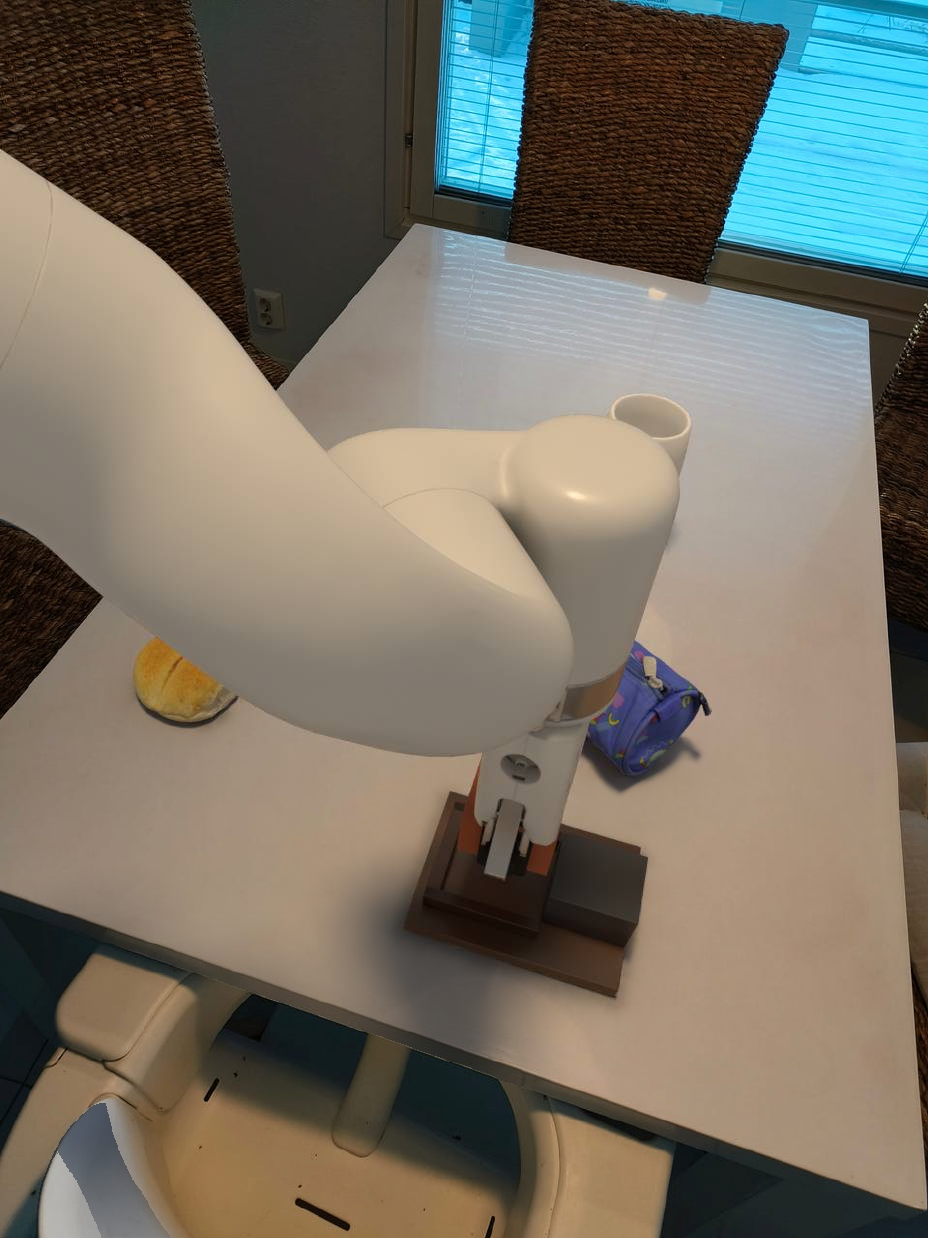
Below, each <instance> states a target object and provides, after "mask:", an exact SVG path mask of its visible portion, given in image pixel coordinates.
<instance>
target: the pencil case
mask: <svg viewBox="0 0 928 1238" xmlns="http://www.w3.org/2000/svg"><path fill="white" fill-rule="evenodd" d="M701 706H702V707H701ZM701 708H702V711H703V713H704V717H708V716H710V715H711V714H712V712H713V710H712V709H711V707H710V706H709V702H708V700H707V698H706V697H705V695H704V693H703V692H702V691H700V690H699V689H698V688H697V687H696V686H695V685H694V684H693V683H692V682H690V681H689V680H688V679H686V678H684V677H683V676H681V675H680V674H679V673H678V672H677V671H675V670H674V669H673V668H672V667H671V666H669V665H668V664H667V663H666V662H665V661H664V660H662V659H661V658H659V657H658V656H656V655H654V654H653V653H652V652H651V651H649V649H647V648H646V647H645V646H643V645H642V644H641V643H640V642H638V641H637V640H635V641H634V644H633V647H632V650H631V653H630V656H629V659H628V662H627V665H626V668H625V671H624V674H623V677H622V680H621V683H620V686H619V689H618V692H617V695H616V697H615V698H614V700H613V702H612V704H611V705H610V706H609V707H608V708H607V709H606V710H605V711H604V712H603V713H602V714H600V715H599V716H598V717H596V718H594V719H592V720H591V721H590V722H589V726H588V730H587V734H586V738H588V739H589V740H590V742H592V743H593V744H594V745H595V747H597V748H598V749H601V750H602V752H603V754H604V755H605V756H606V757H607V758H608V759H610V760H611V761H612V763H613V764H614V765H615V766H616V767H617V769H618V770H619V772H620V773H622V774H624V775H627V776H628V775H629V776H638V775H641V774H643V773H645V772H647V771H648V770H649V769H650V768H652V767H653V765H654V764H655V763H657V761H658V760H659V759H660V758H661V756H662V755H663V754H664V753H666V752H667V751H668V750H669V749H670V748H672V746H674V745H675V743H677V741H678V740H679V739H680V737H681V736H682V735H683V733H684V732H685V731H687V729H688V728H689V726H690V725H691V724H692V723H693V721H694V720H695V719H696V716H697V715H698V713H699V711H700V709H701Z"/></svg>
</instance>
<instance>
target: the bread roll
mask: <svg viewBox="0 0 928 1238" xmlns="http://www.w3.org/2000/svg"><path fill="white" fill-rule="evenodd" d="M132 672H133V673H132V681H133V687H134V690H135V693H136V695H137V697H138V698H139V700H140V702H141V704H143V705H144V707H146V708H147V709H149V710H151V711H153V712H156V713H158V715H160V716H161V717H164V718H165V719H169V720H172V721H176V722H180V723H181V722H182V723H195V722H201V721H204V720H208V719H209V718H210V719H211V718H213V717H214V716H215V715H217V714H218V713H219V712H220V711H222V710H223V709H225V708H226V707H228V706H229V705H230V703H231V702H232V701H233V700H235V698H236V697H238V696H237V695H235V694H234V693H232V692H231V691H229V690H228V689H227V688H225V687H224V686H222V685H221V684H219V683H218V682H216V681H215V680H213V679H212V678H210V677H209V676H208V675H206V674H205V673H204V672H202V671H201V670H200V669H198V668H197V667H196V666H194V665H193V664H192V663H190V662H189V661H188V660H186V659H185V658H184V657H182V656H181V655H180V654H179V653H177V652H176V651H175V650H173V649H172V648H171V647H169V646H168V645H167V644H165V643H164V642H163V641H161V640H160V639H159V638H157V637H156V636H155V637H153V638H152V639H151V640H149V641H148V642H147V643H146V644H145V645H143V647H142V648H141V649H140V650H139V652H138V654H137V656H136V658H135V661H134V665H133V671H132Z"/></svg>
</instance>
